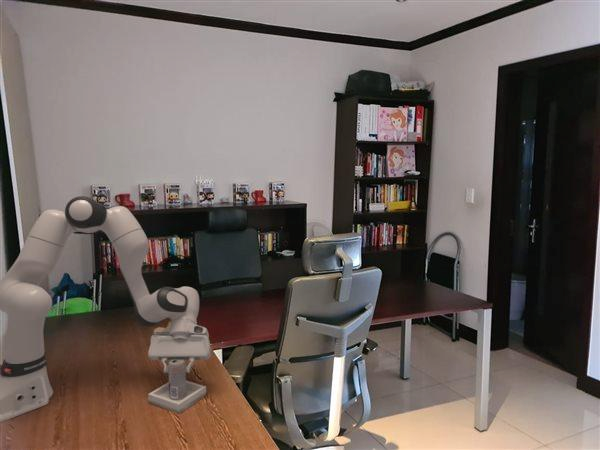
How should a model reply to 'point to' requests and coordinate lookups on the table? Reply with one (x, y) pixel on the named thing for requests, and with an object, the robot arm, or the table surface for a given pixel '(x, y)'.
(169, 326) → the model
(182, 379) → the energy drink
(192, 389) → the tray
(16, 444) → the table surface
